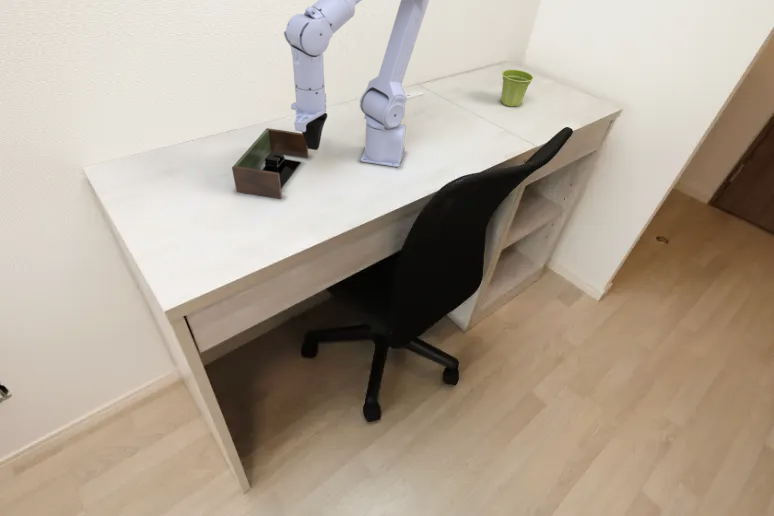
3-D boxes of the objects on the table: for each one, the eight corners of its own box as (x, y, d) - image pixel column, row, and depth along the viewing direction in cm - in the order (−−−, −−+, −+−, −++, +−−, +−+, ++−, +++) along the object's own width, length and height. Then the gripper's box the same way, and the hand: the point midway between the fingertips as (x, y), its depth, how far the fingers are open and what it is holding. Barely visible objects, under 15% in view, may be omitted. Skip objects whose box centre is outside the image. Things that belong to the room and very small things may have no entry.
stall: (308, 156, 108) (307, 134, 104) (280, 199, 94) (277, 174, 90) (269, 150, 109) (266, 128, 105) (236, 192, 95) (231, 167, 91)
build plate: (279, 191, 97) (277, 173, 93) (248, 185, 98) (245, 167, 94) (301, 163, 106) (299, 145, 102) (272, 157, 107) (270, 140, 103)
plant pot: (529, 102, 141) (537, 74, 135) (519, 112, 135) (527, 83, 129) (502, 94, 145) (508, 67, 139) (491, 103, 139) (497, 75, 133)
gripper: (302, 69, 92) (306, 130, 101) (276, 96, 82) (283, 161, 91) (335, 73, 92) (336, 134, 101) (313, 101, 81) (317, 167, 90)
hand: (313, 148), depth 96 cm, fingers closed
